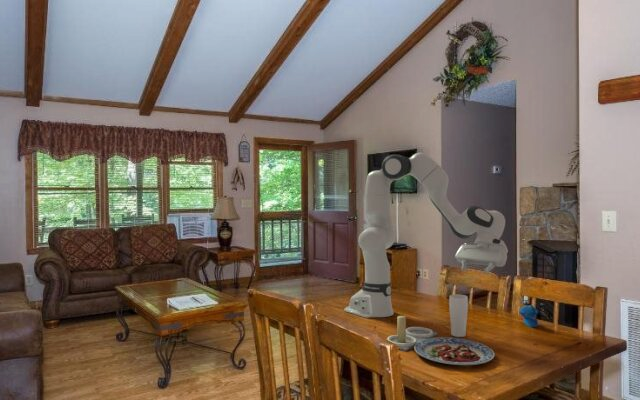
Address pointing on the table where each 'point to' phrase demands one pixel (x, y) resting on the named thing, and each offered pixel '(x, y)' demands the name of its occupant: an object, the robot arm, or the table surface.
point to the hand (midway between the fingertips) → (474, 271)
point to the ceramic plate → (454, 351)
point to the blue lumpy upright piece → (529, 315)
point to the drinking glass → (458, 314)
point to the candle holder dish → (409, 335)
